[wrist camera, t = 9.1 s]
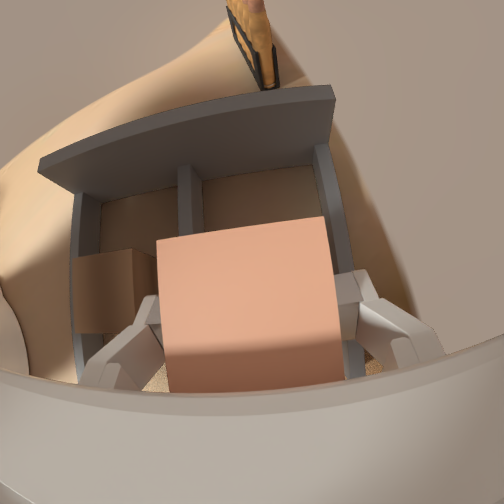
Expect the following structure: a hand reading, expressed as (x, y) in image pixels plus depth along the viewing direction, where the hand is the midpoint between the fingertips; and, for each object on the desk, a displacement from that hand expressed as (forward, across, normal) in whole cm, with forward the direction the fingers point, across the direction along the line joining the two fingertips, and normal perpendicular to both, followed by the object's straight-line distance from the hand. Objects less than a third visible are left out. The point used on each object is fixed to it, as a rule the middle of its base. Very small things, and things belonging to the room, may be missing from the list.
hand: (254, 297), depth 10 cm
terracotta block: (+6, 0, +6) cm, 8 cm away
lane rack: (+9, +5, +6) cm, 12 cm away
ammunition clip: (+25, -2, -10) cm, 27 cm away
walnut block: (+8, +10, +6) cm, 15 cm away
